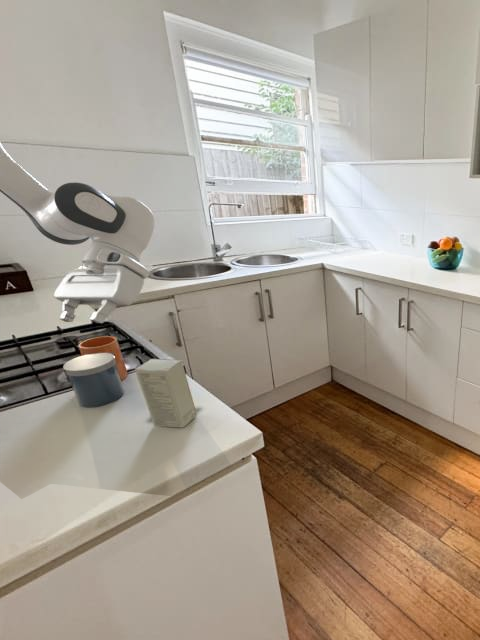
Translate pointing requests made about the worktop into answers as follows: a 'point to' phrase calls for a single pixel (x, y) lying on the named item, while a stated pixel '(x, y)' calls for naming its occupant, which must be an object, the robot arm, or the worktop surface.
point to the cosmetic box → (166, 392)
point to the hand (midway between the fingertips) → (80, 321)
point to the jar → (94, 379)
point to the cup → (105, 351)
